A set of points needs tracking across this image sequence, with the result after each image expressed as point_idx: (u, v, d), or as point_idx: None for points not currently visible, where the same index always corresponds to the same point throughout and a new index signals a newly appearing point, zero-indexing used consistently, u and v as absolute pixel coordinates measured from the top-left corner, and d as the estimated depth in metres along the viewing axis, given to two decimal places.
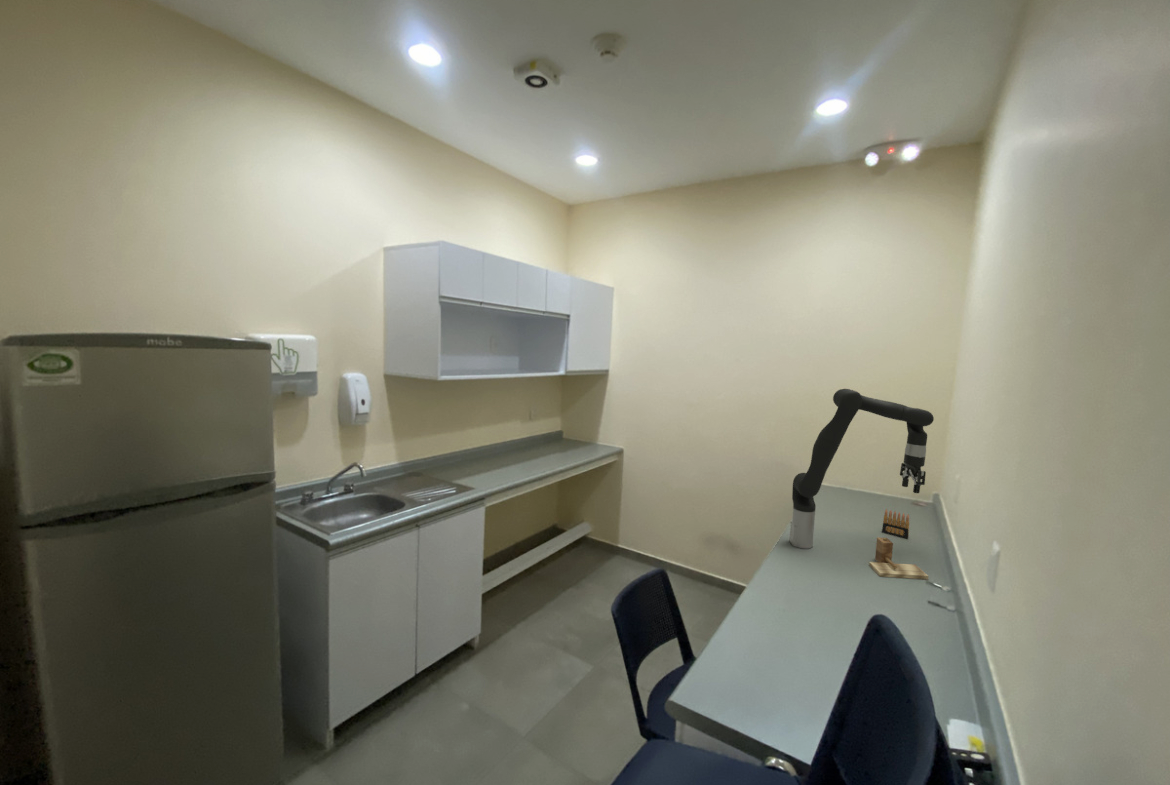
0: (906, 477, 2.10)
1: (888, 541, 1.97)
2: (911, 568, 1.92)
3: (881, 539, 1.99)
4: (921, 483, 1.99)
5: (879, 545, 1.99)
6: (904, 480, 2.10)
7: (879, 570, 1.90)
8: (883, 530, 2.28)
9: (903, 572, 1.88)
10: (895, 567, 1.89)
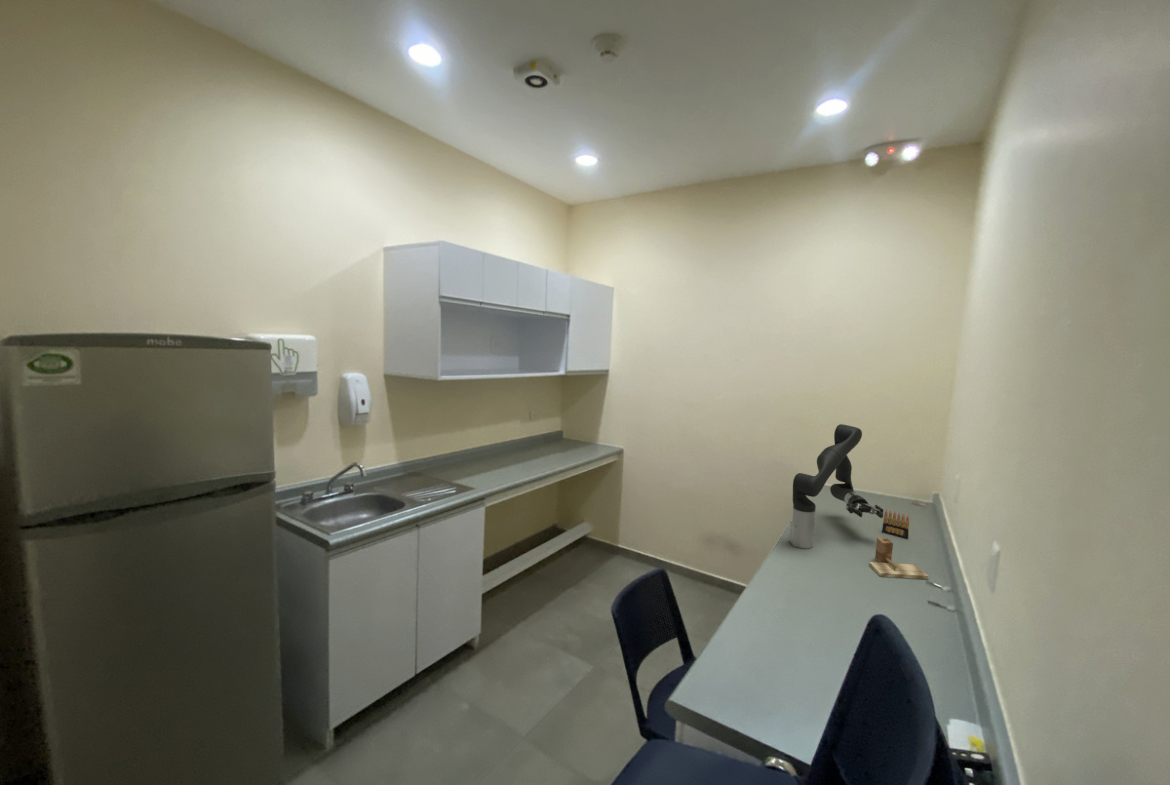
0: None
1: (888, 541, 1.97)
2: (911, 568, 1.92)
3: (881, 539, 1.99)
4: None
5: (879, 545, 1.99)
6: None
7: (879, 570, 1.90)
8: (883, 530, 2.28)
9: (903, 572, 1.88)
10: (895, 567, 1.89)
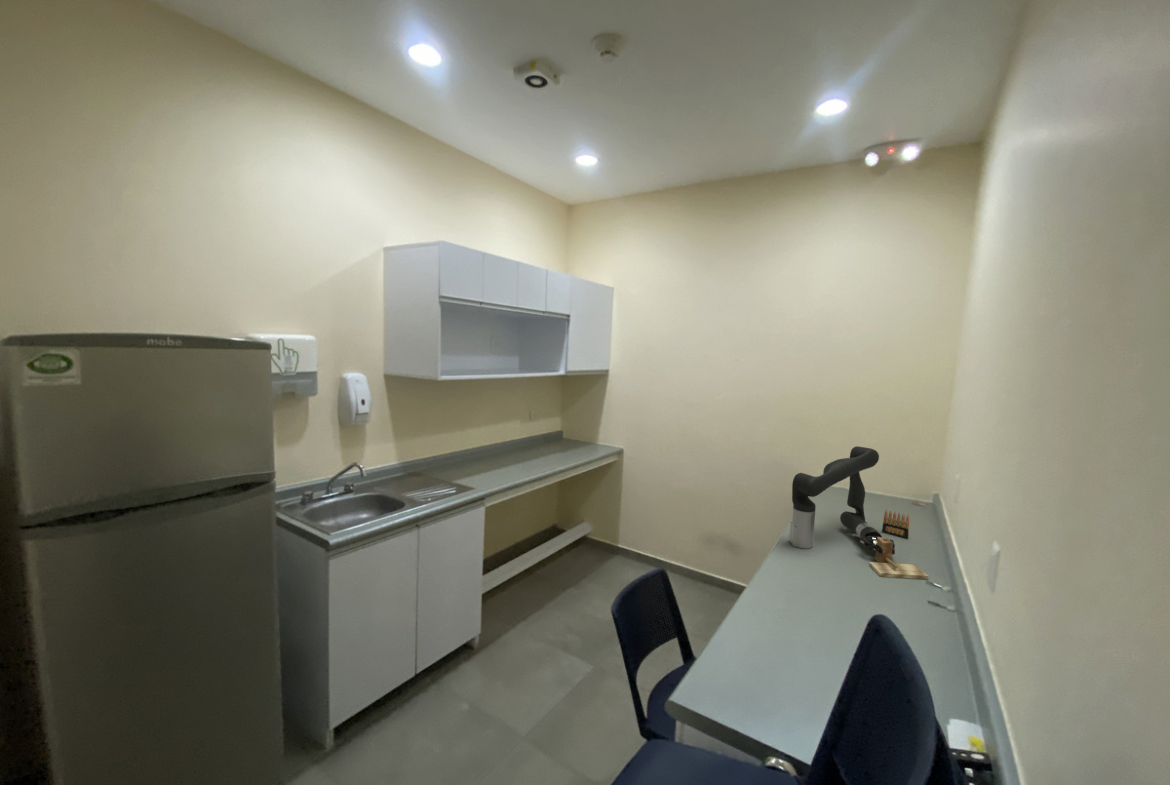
0: None
1: (888, 541, 1.97)
2: (911, 568, 1.92)
3: (881, 539, 1.99)
4: None
5: (879, 545, 1.99)
6: None
7: (879, 570, 1.90)
8: (883, 530, 2.28)
9: (903, 572, 1.88)
10: (895, 567, 1.89)
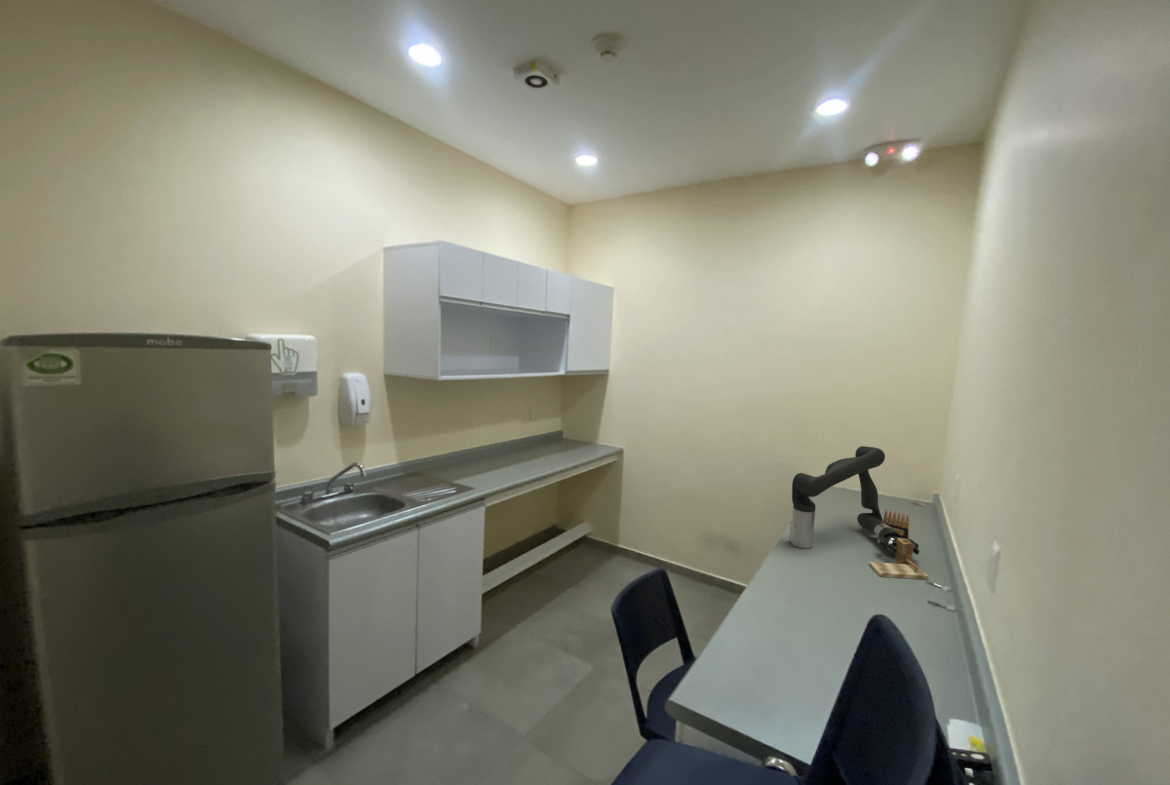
0: None
1: (908, 542, 1.96)
2: (911, 568, 1.92)
3: (901, 540, 1.98)
4: None
5: (899, 546, 1.98)
6: None
7: (879, 570, 1.90)
8: None
9: (903, 572, 1.88)
10: (916, 568, 1.88)
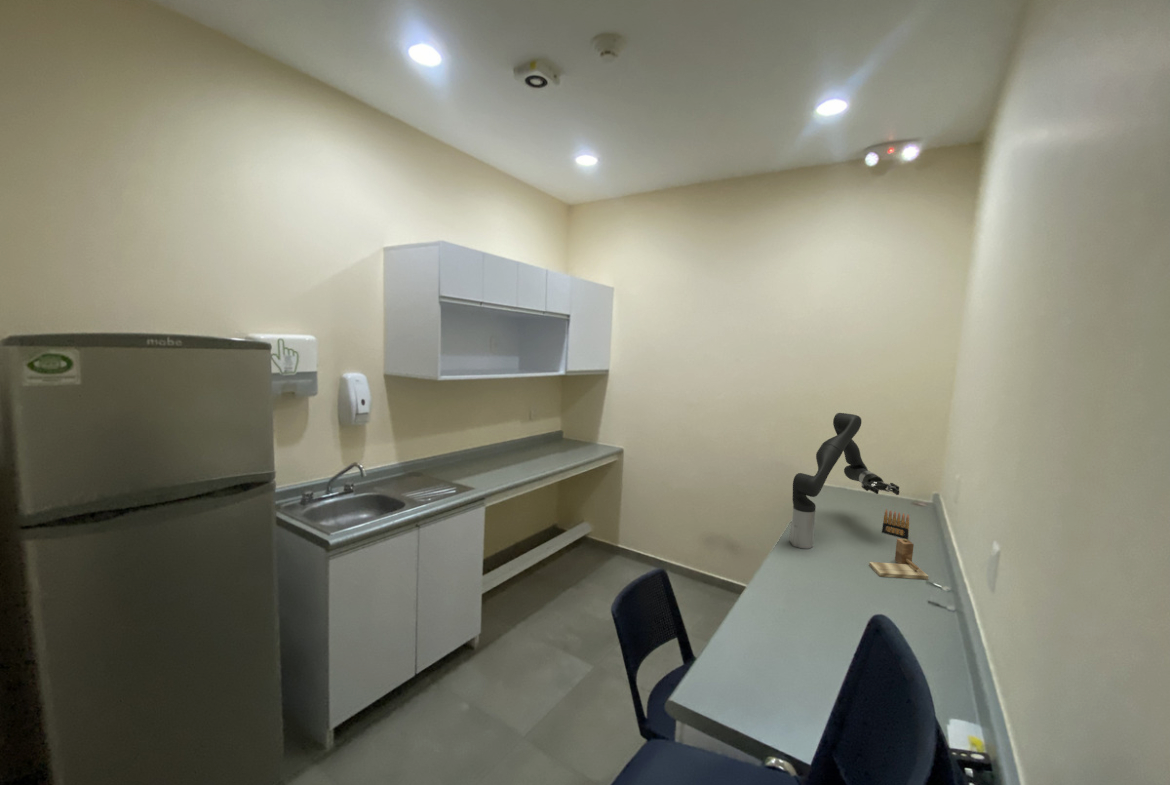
0: None
1: (908, 542, 1.96)
2: (911, 568, 1.92)
3: (901, 540, 1.98)
4: None
5: (899, 546, 1.98)
6: None
7: (879, 570, 1.90)
8: (883, 530, 2.28)
9: (903, 572, 1.88)
10: (916, 568, 1.88)
